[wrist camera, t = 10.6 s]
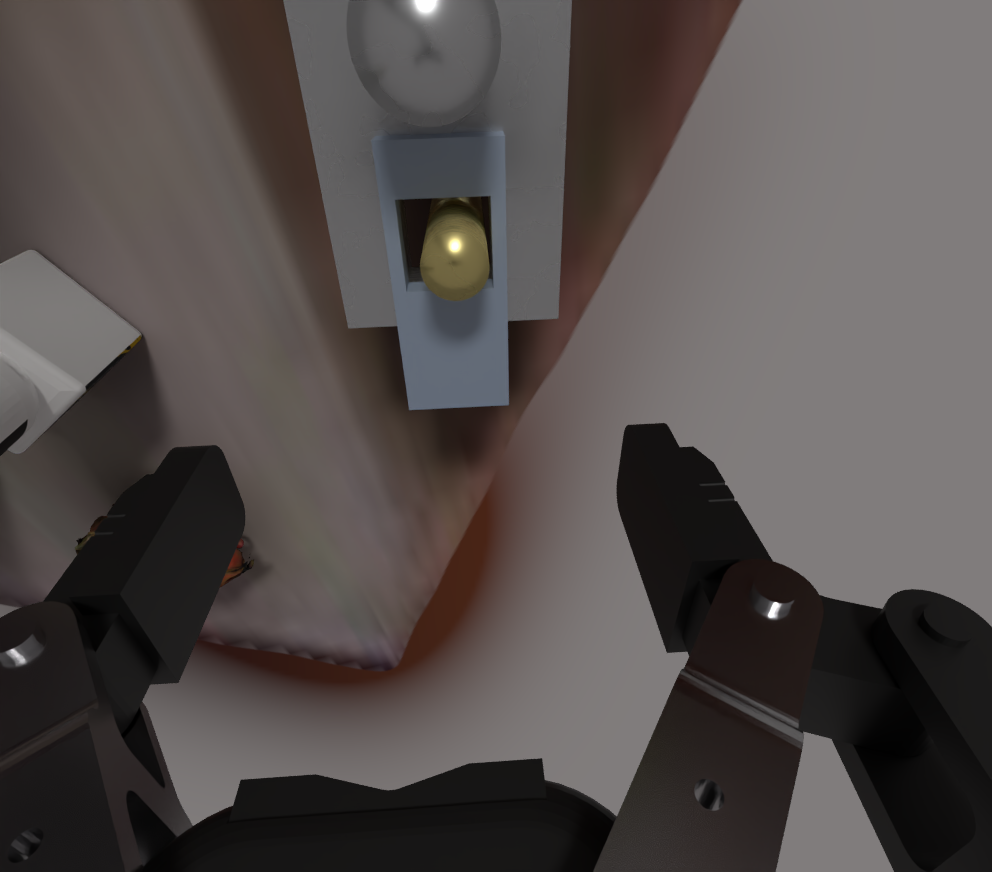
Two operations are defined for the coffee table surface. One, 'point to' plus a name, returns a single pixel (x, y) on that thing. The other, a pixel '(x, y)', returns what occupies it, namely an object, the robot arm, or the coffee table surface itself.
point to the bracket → (419, 312)
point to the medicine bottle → (50, 346)
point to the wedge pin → (455, 248)
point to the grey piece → (436, 125)
